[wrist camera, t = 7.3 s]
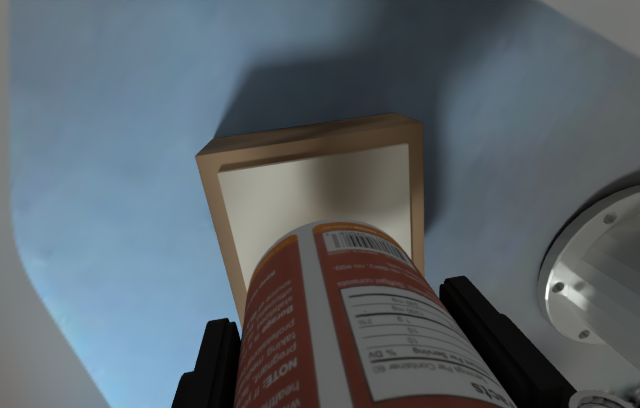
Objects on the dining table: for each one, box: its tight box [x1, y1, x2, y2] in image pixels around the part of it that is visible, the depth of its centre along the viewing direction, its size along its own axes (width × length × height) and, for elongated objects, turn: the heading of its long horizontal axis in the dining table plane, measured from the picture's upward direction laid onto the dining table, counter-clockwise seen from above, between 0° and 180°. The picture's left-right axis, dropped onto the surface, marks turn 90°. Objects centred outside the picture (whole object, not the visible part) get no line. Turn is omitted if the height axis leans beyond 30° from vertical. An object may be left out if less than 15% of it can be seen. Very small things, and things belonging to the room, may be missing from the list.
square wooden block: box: [195, 112, 424, 330], centre depth 18 cm, size 10×10×4 cm
